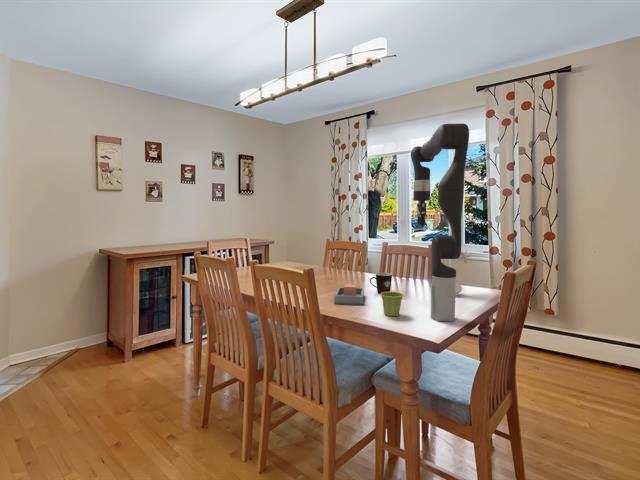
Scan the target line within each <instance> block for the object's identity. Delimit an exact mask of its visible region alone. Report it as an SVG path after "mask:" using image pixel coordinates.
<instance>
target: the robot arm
mask: <svg viewBox="0 0 640 480" xmlns="http://www.w3.org/2000/svg"><path fill="white" fill-rule="evenodd" d="M469 142H470V129H469V126H468V124H467V123H443V124H441V125H439V126H438V127H437V129H436V130H435V131H434V132H433V134H432V136H431V137H430V139H429V140H428V141H427V142H425V143H424V144H423V145H422V146H418V145H417V146H414V147H413V148H412V149H411V151H410V158H411V161H412V165H413V171H414V174H413V175H414V177H413V178H414V181H413V198H412V199H413V201H414V202H415V201H416V202H417V203H416V217H417V225H418V226H422V227H425V225H426V217H427V205H428V204H427V202H426V201H430V200H431V169H430V168H429V167H426V166H423V165H422V164H421V163H430V162H433V161H434V159H435V157H436V156H438V155H439V154H441V151H442V150H454V156H453V158H452V159H453V160H452V162H451V164H450V166H449V167H448V169H447V170H446V172H445V174H444V175H443V176H442V178H441V179H440V181H439V184H438V189H437V203H438V207H439V208H440V209H441V212H442V213H443V215H444V216H445V218H446V219H447V221H448V223H449V225H450V226H449V227H450V230H451V231H450V232H451V235H433V237H432V238H431V250H430V251H431V284H430V286H431V287H430V288H431V289H430V318H431V319H432V320H435V321H436V322H453V321H455V319H456V317H455V316H456V296H455V294H456V279H457V269H456V270H455V269H454V268H451V267H450V266H448V265H446V264H444V263H443V262H442V260H449V259H457V258H459V257H460V254H461V251H462V217H463V215H462V214H463V205H464V195H465V193H464V192H465V174H466V173H465V172H466V163H467V162H466V161H467V156H468V149H469ZM457 260H458V259H457Z"/></svg>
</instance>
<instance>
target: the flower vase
mask: <svg viewBox="0 0 640 480" xmlns="http://www.w3.org/2000/svg"><path fill="white" fill-rule="evenodd" d="M467 251H468V250H467V248H464V249H463V251H462V250H461V254H460V257H459V258H457V259H448V262H449V267H451V268H454V269H455V270H456V271H457V262H459V263H461V262H464V263H465V264H467V263H468V259H467V258H470V257H471V256H472V255H471V253H467ZM462 291H463V287H462V285H461V284H460V283H459V281H458V280H457V278H456V294H455V297H458V296H459V294H460V293H461V292H462Z"/></svg>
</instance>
